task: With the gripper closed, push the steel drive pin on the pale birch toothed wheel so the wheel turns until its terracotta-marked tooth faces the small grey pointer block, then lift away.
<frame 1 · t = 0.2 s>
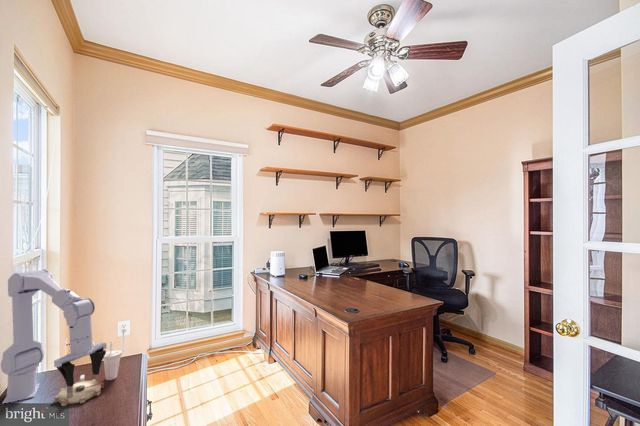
hand: (83, 379, 99), 11 cm above the table, tool pointing down, fingers open, 7 cm apart
index pointer: (82, 382, 116), on the table
smoothie: (111, 378, 120), on the table
sprocket: (80, 386, 109), point 3 cm above the table, hinge at 0.0°
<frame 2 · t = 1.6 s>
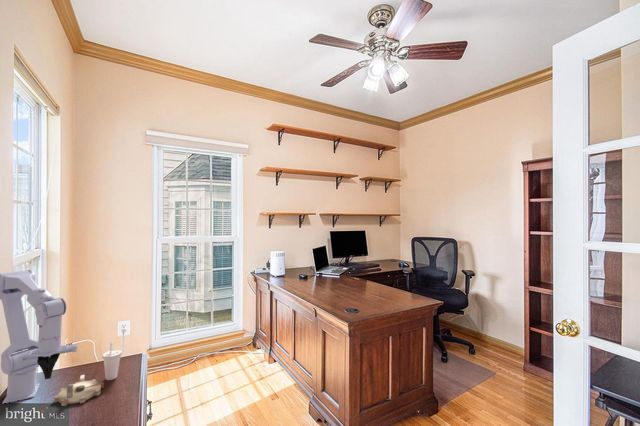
hand: (48, 377, 101), 10 cm above the table, tool pointing down, fingers closed
nothing on the table moved.
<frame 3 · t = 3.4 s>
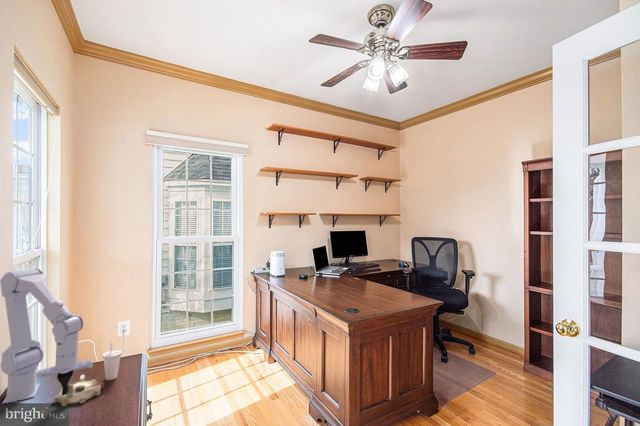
hand: (65, 393, 103), 3 cm above the table, tool pointing down, fingers closed, pressing on sprocket
sprocket: (80, 386, 109), point 3 cm above the table, hinge at 0.5°, touching gripper
everything else where it was.
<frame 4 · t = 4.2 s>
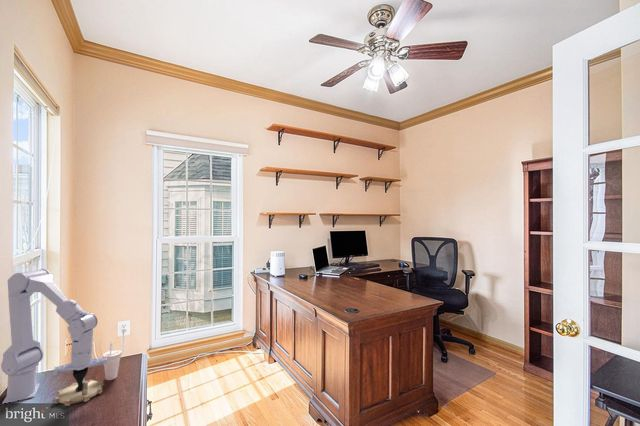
hand: (80, 389, 105), 3 cm above the table, tool pointing down, fingers closed, pressing on sprocket
sprocket: (80, 386, 109), point 3 cm above the table, hinge at 54.9°, touching gripper
everything else where it was.
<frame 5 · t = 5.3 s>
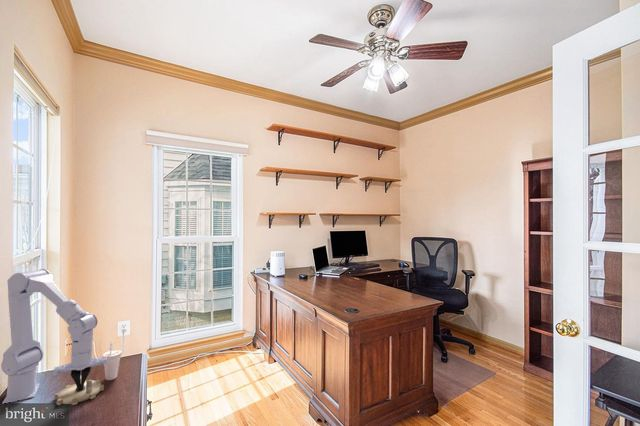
hand: (80, 389, 106), 3 cm above the table, tool pointing down, fingers closed
sprocket: (80, 386, 109), point 3 cm above the table, hinge at 71.7°
everything else where it was.
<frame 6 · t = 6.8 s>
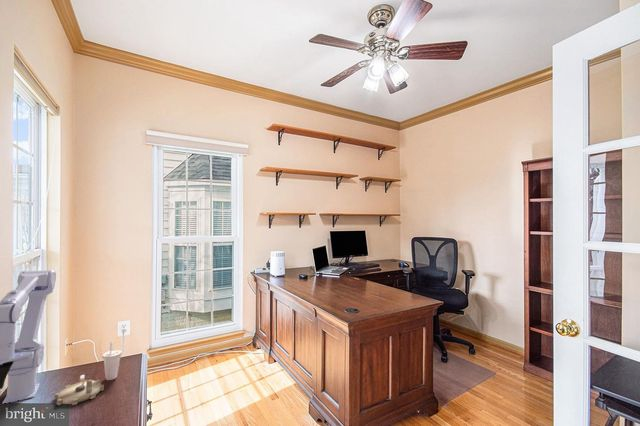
nothing on the table moved.
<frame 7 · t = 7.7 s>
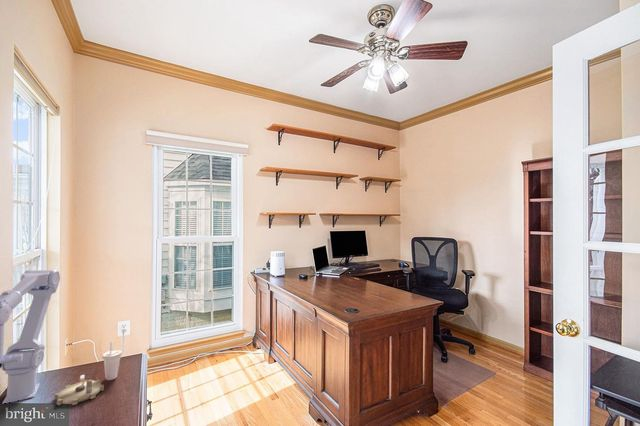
nothing on the table moved.
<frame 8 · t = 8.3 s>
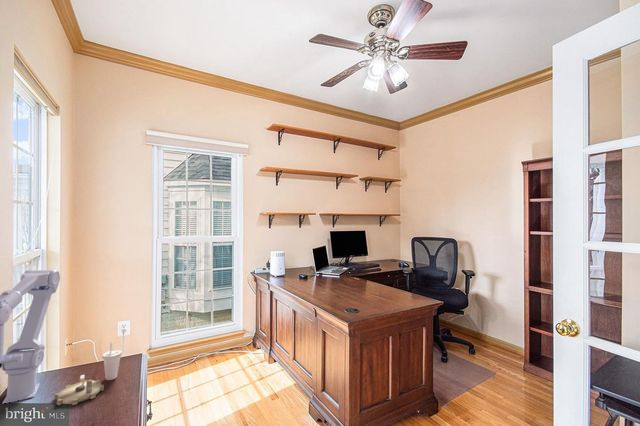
nothing on the table moved.
at the end: sprocket at +72° (first picture: +0°) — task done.
